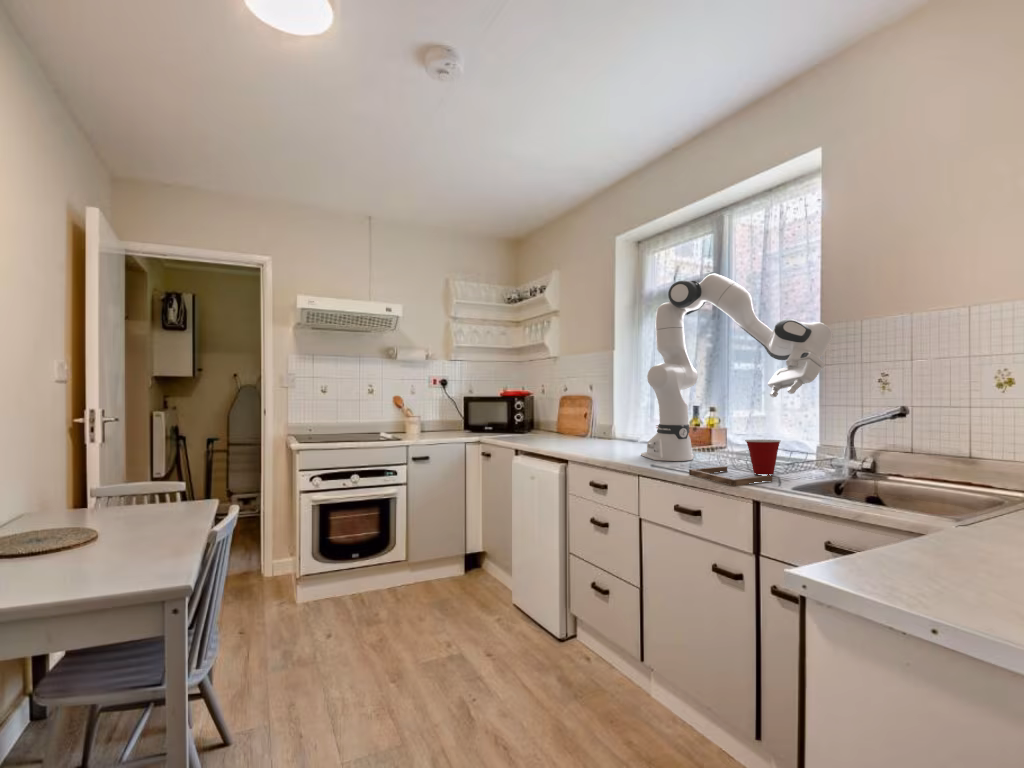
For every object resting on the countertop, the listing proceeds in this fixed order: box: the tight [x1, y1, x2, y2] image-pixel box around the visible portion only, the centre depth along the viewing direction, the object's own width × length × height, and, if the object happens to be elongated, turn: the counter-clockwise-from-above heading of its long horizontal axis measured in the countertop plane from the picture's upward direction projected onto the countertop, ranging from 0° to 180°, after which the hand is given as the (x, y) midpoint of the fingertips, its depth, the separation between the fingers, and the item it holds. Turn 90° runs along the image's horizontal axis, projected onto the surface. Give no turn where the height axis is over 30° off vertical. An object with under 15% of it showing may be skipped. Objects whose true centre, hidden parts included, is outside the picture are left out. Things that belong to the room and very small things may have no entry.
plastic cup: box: [744, 439, 782, 475], centre depth 168 cm, size 11×11×12 cm
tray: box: [688, 465, 773, 487], centre depth 163 cm, size 20×15×2 cm
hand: (781, 394), depth 171 cm, fingers open, 8 cm apart
